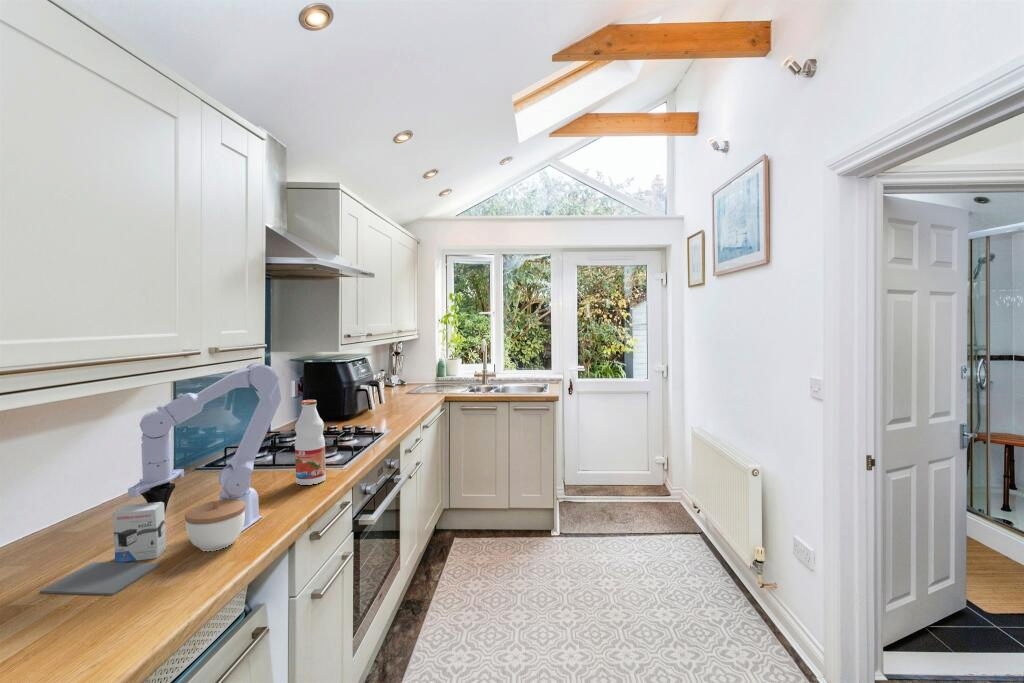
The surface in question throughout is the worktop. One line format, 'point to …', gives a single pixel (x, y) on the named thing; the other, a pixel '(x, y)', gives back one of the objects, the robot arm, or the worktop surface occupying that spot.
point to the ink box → (139, 532)
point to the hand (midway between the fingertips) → (159, 515)
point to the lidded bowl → (215, 523)
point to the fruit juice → (309, 445)
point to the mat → (101, 578)
